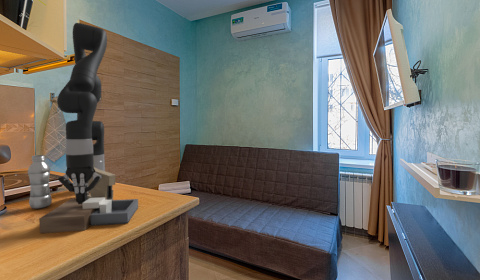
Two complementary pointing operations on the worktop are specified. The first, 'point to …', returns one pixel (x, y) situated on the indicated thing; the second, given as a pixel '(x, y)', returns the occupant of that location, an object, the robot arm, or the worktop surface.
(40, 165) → the plastic bottle
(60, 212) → the brown wooden block
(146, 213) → the worktop surface
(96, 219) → the box
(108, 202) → the tile
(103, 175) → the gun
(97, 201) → the tile
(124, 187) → the worktop surface
